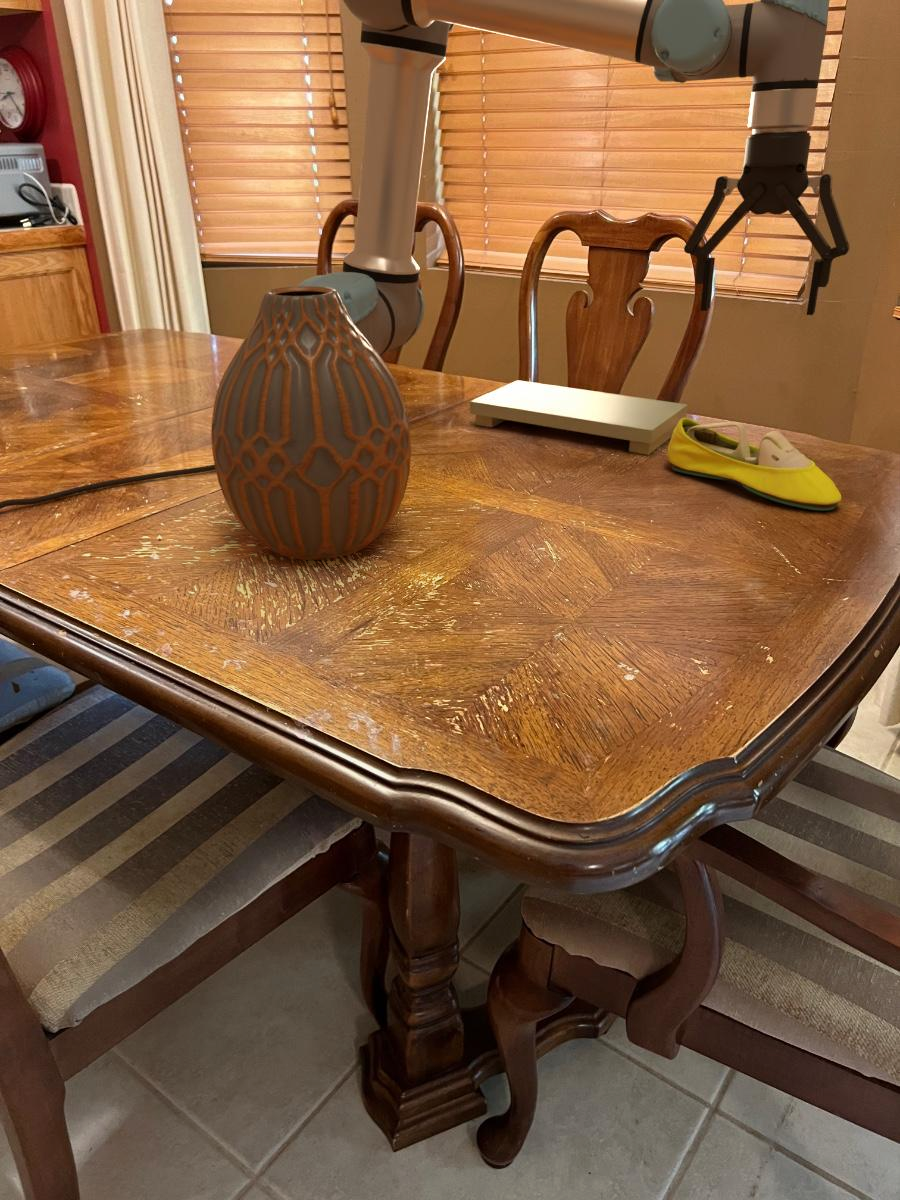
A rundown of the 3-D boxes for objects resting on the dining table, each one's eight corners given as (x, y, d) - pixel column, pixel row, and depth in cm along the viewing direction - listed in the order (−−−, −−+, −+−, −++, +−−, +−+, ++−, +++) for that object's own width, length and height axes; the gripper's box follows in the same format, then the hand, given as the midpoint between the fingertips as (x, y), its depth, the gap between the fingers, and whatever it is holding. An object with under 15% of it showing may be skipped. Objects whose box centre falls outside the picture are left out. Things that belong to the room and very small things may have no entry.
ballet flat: (818, 521, 102) (832, 456, 98) (650, 471, 118) (656, 413, 114) (849, 504, 107) (864, 441, 103) (684, 458, 123) (691, 402, 119)
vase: (288, 494, 111) (266, 272, 98) (440, 517, 104) (439, 282, 91) (186, 560, 93) (144, 301, 80) (361, 593, 86) (346, 315, 74)
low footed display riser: (649, 457, 123) (652, 430, 122) (469, 426, 137) (469, 401, 136) (685, 429, 135) (688, 404, 134) (516, 403, 149) (517, 380, 148)
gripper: (892, 127, 103) (859, 310, 113) (683, 135, 114) (670, 303, 123) (890, 126, 98) (855, 320, 107) (670, 135, 108) (657, 311, 117)
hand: (756, 311), depth 115 cm, fingers open, 13 cm apart
